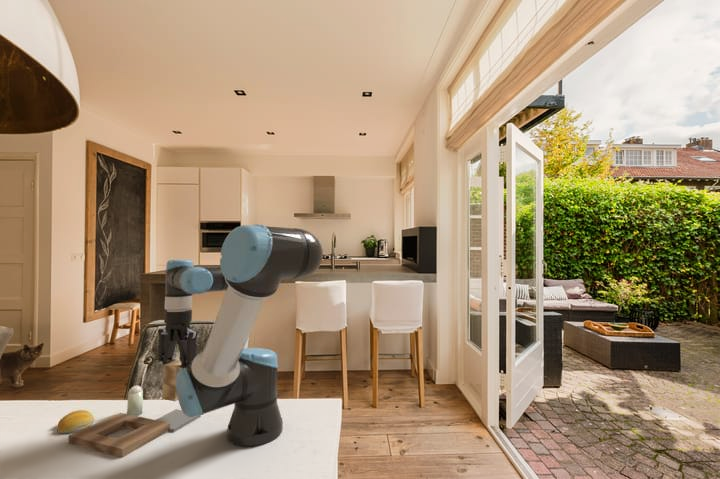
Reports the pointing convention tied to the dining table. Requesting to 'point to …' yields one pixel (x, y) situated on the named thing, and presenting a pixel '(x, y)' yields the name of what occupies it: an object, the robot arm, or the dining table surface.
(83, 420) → the bread roll
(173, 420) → the slate board
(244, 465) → the dining table surface
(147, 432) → the walnut board
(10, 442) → the dining table surface
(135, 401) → the sage shaker
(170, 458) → the dining table surface
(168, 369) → the oak block
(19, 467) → the dining table surface
